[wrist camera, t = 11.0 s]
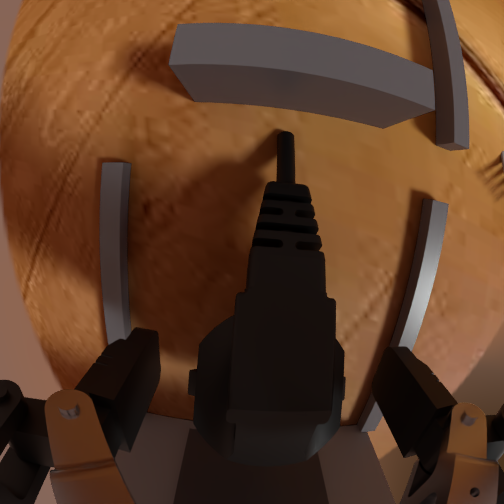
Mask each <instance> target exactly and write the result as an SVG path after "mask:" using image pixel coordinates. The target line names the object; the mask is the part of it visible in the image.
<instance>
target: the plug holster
mask: <svg viewBox="0 0 504 504" xmlns="http://www.w3.org/2000/svg"><path fill="white" fill-rule="evenodd" d="M422 3H423V7H424V11H425V16H426V21H427V26H428V32H429V38H430V45H431V52H432V60H433V69H434V78H433V70H431V69H428V68H426V67H424V66H422V65H419V64H417V63H414V62H412V61H410V60H407V59H404V58H402V57H399V56H397V55H394V54H391V53H388V52H385V51H382V50H379V49H376V48H373V47H370V46H367V45H363V44H360V43H356V42H352V41H349V40H345V39H341V38H337V37H332V36H328V35H323V34H318V33H313V32H308V31H302V30H296V29H289V28H282V27H274V26H264V25H252V24H234V23H193V24H178V26H177V29H176V33H175V38H174V42H173V46H172V51H171V55H170V60H169V66H170V68H171V69H172V71H173V72H174V73H175V75H176V76H177V77H178V79H179V80H180V82H181V83H182V84H183V86H184V87H185V89H186V90H187V91H188V93H189V94H190V96H191V97H192V99H193V100H194V101H195V102H214V103H233V104H246V105H257V106H267V107H275V108H283V109H290V110H297V111H304V112H310V113H315V114H321V115H326V116H332V117H336V118H341V119H346V120H350V121H355V122H359V123H363V124H367V125H371V126H375V127H379V128H383V129H384V128H386V127H389V126H392V125H394V124H397V123H400V122H403V121H405V120H408V119H411V118H414V117H417V116H420V115H423V114H425V113H428V112H431V111H434V110H435V97H436V146H439V147H442V148H444V149H447V150H450V151H453V150H463V149H469V112H468V97H467V86H466V78H465V70H464V63H463V57H462V51H461V46H460V41H459V36H458V32H457V28H456V23H455V20H454V16H453V12H452V9H451V5H450V2H449V0H422ZM434 81H435V94H434Z"/></svg>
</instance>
